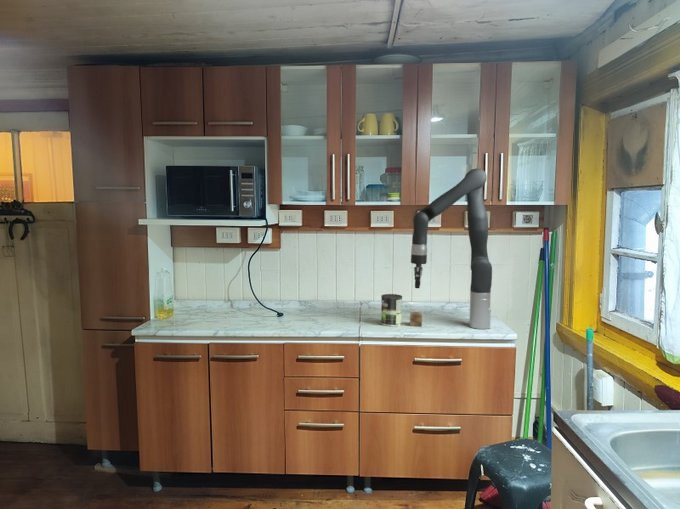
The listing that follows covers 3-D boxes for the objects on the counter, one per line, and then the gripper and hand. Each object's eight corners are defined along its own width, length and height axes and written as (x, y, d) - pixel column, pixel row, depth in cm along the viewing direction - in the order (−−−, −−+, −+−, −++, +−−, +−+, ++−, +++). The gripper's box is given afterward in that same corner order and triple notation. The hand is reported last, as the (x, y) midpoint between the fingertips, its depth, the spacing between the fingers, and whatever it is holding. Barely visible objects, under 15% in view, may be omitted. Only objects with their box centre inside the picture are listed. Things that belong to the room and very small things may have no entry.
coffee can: (386, 327, 203) (386, 298, 202) (377, 322, 213) (377, 294, 212) (405, 325, 206) (406, 297, 205) (396, 320, 216) (396, 293, 215)
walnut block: (421, 324, 209) (422, 312, 209) (421, 327, 204) (421, 314, 203) (410, 323, 210) (410, 311, 210) (409, 326, 205) (410, 314, 204)
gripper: (426, 255, 196) (425, 289, 198) (427, 252, 210) (425, 285, 212) (410, 254, 198) (408, 288, 199) (412, 252, 212) (410, 284, 213)
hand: (417, 286), depth 205 cm, fingers open, 8 cm apart
